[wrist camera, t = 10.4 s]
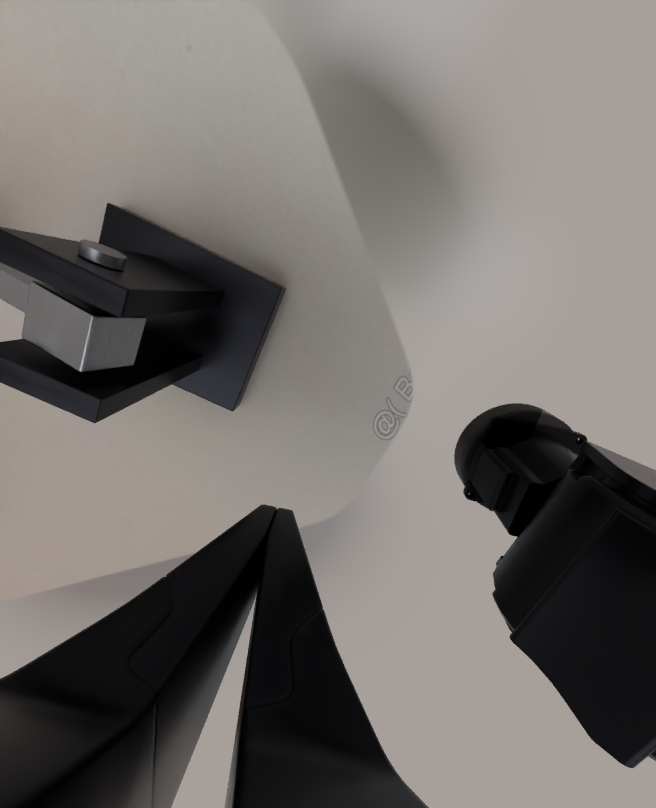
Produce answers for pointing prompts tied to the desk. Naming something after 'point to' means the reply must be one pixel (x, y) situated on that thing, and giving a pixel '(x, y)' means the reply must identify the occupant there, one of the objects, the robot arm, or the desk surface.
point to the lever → (71, 325)
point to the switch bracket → (144, 296)
